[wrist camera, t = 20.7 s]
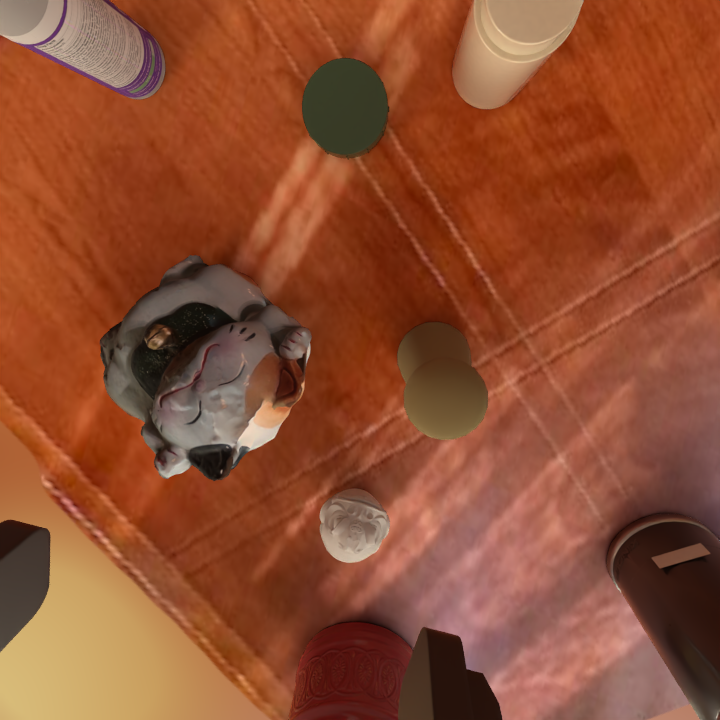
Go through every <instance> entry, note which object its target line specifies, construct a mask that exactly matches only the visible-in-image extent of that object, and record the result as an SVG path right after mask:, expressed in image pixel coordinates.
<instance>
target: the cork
mask: <svg viewBox="0 0 720 720" xmlns="http://www.w3.org/2000/svg"><path fill="white" fill-rule="evenodd" d="M397 360H398V366H399V369H400V371H401V374H402V376H403V378H404V380H405V382H406V386H405V390H404V408H405V410H406V413H407V415H408V418H409V420H410V421H411V422H412V423H413V424H414V426H415V427H416V428H417V429H418V430H419V431H421V432H422V433H424V434H425V435H427V436H429V437H432V438H436V439H440V440H451V439H456V438H459V437H463V436H466V435H467V434H468V433H470V432H471V431H473V430H474V429H476V428H477V426H478V425H479V424H480V423H481V421H482V420H483V418H484V416H485V413H486V410H487V406H488V391H487V388H486V386H485V383H484V380H483V379H482V377H481V376H480V375H479V373H478V372H477V371H476V370H475V368H474V367H472V364H471V355H470V349H469V346H468V343H467V340H466V339H465V337H464V336H463V335H462V334H461V332H460V331H459V330H457V329H456V328H454V327H452V326H451V325H449V324H445V323H441V322H427V323H424V324H421V325H419V326H416V327H415V328H413V329H412V330H411V331H409V332H408V333H407V334H406V335H405V337H404V338H403V340H402V341H401V343H400V346H399V349H398V353H397Z"/></svg>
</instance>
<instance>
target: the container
mask: <svg viewBox="0 0 720 720" xmlns="http://www.w3.org/2000/svg"><path fill="white" fill-rule="evenodd" d="M0 35H2V36H4V37H6V38H8V39H9V40H11V41H13V42H15V43H17V44H19V45H22V46H24V47H26V48H28V49H30V50H32V51H34V52H36V53H38V54H40V55H42V56H44V57H46V58H48V59H50V60H52V61H54V62H56V63H58V64H60V65H63V66H65V67H67V68H69V69H71V70H73V71H75V72H77V73H79V74H81V75H83V76H85V77H87V78H89V79H91V80H93V81H95V82H97V83H99V84H101V85H104V86H106V87H108V88H110V89H112V90H114V91H116V92H118V93H120V94H122V95H124V96H126V97H129V98H132V99H145V98H148V97H150V96H152V95H153V94H154V93H156V91H157V90H158V89H159V88H160V86H161V84H162V82H163V79H164V75H165V59H164V55H163V52H162V49H161V47H160V45H159V43H158V42H157V40H156V39H155V38H154V37H153V36H152V35H151V34H150V33H149V32H148V31H147V30H145V29H144V28H143V27H142V26H140V25H139V24H138V23H137V22H135V21H134V20H133V19H132V18H130V17H129V16H128V15H127V14H125V13H124V12H123V11H121V10H120V9H119V8H118V7H116V6H115V5H114V4H113V3H111V2H110V1H109V0H0Z"/></svg>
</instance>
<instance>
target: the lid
mask: <svg viewBox="0 0 720 720" xmlns="http://www.w3.org/2000/svg"><path fill="white" fill-rule="evenodd" d="M388 112H389V106H388V102H387V95H386V91H385V88H384V85H383V82H382V81H381V79H380V78H379V76H378V75H377V74H376V72H375V71H374V70H373V69H372V68H371V67H369V66H368V65H366V64H365V63H363V62H361V61H359V60H356V59H351V58H340V59H335V60H332V61H330V62H327V63H326V64H324V65H323V66H321V67H320V68H319V69H318V70H317V71H316V72H315V73H314V74H313V75H312V77H311V78H310V80H309V82H308V84H307V85H306V88H305V91H304V95H303V101H302V113H303V119H304V123H305V126H306V128H307V130H308V132H309V136H310V137H311V138H312V139H313V140H314V141H315V142H316V143H317V144H318V145H319V146H320V147H321V148H322V149H323V150H324V151H325V152H326V153H327V154H328V155H329V154H331V155H333V156H336V157H340V158H347V159H349V158H354V157H358V156H361V155H363V154H365V153H367V152H368V153H369V151H370V150H371V149H372V148H373V147H374V146H375V145H376V144H377V143H378V142H379V140H380V139H381V137H382V135H383V136H384V131H385V128H386V125H387V119H388Z"/></svg>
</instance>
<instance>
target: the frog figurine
mask: <svg viewBox="0 0 720 720" xmlns="http://www.w3.org/2000/svg"><path fill="white" fill-rule="evenodd" d="M320 520H321V524H320V533H321V537H322V540H323V542H324V545H325V547H326V549H327V550H328V552H329V553H330V554H331V555H332V556H333V557H334V558H336V559H337V560H340V561H342V562H347V563H353V562H359V561H362V560H364V559H366V558H367V557H369V556H370V555H372V554H374V553H375V552H376V551H377V550H378V549H379V547H380V545H381V542H382V540H383V539H384V538H385V537H386V536H387V535H388V532H389V527H390V521H389V517H388V515H387V514H386V511H385V510H384V509H383V508H382V506H381V504H379V503H378V501H377V500H376V499H375V498H374V497H373V496H372V495H371V494H370V493H368V492H367V491H365V490H362V489H357V488H352V489H347V490H344V491H342V492H338V493H337V494H335V495H334V496H333V497H332V498H330V499H328V500H327V501H326V502H325V503H324V505H323V506H322V508H321V511H320Z"/></svg>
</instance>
